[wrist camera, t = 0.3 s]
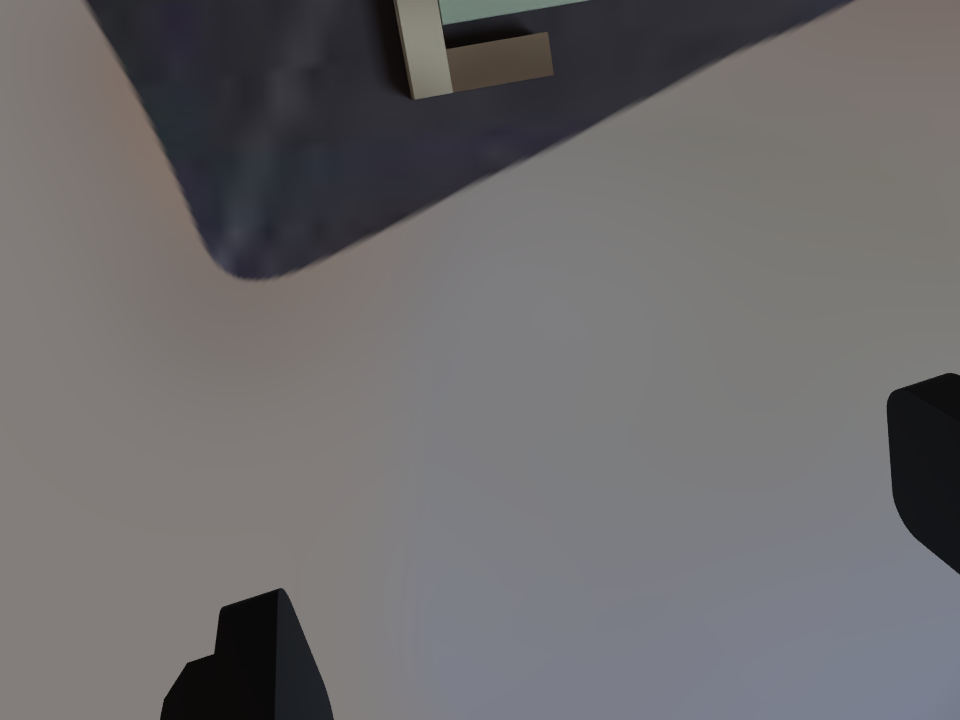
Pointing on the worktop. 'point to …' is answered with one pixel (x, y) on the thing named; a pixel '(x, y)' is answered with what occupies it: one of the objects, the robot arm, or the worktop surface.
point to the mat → (490, 8)
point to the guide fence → (463, 55)
